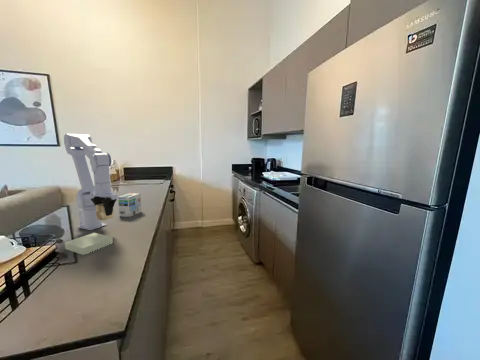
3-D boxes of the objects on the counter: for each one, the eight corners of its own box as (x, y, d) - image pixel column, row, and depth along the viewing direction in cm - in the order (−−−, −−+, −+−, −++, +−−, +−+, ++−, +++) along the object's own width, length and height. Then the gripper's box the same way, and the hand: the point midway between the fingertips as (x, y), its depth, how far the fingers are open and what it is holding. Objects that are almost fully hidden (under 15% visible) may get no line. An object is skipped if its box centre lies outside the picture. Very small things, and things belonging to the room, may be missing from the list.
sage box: (65, 250, 88) (64, 242, 87) (95, 239, 98) (94, 232, 97) (83, 256, 83) (83, 248, 83) (113, 244, 93) (112, 237, 92)
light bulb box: (130, 217, 126) (128, 197, 124) (118, 216, 127) (117, 196, 126) (142, 211, 136) (141, 193, 135) (131, 211, 138) (130, 192, 136)
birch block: (96, 219, 100) (95, 205, 99) (106, 216, 104) (105, 202, 103) (103, 220, 98) (102, 206, 97) (113, 217, 102) (112, 203, 101)
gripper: (81, 182, 99) (84, 214, 101) (104, 185, 92) (107, 219, 94) (98, 180, 105) (101, 210, 107) (120, 182, 99) (123, 214, 101)
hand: (105, 214), depth 101 cm, fingers closed on birch block, 4 cm apart
